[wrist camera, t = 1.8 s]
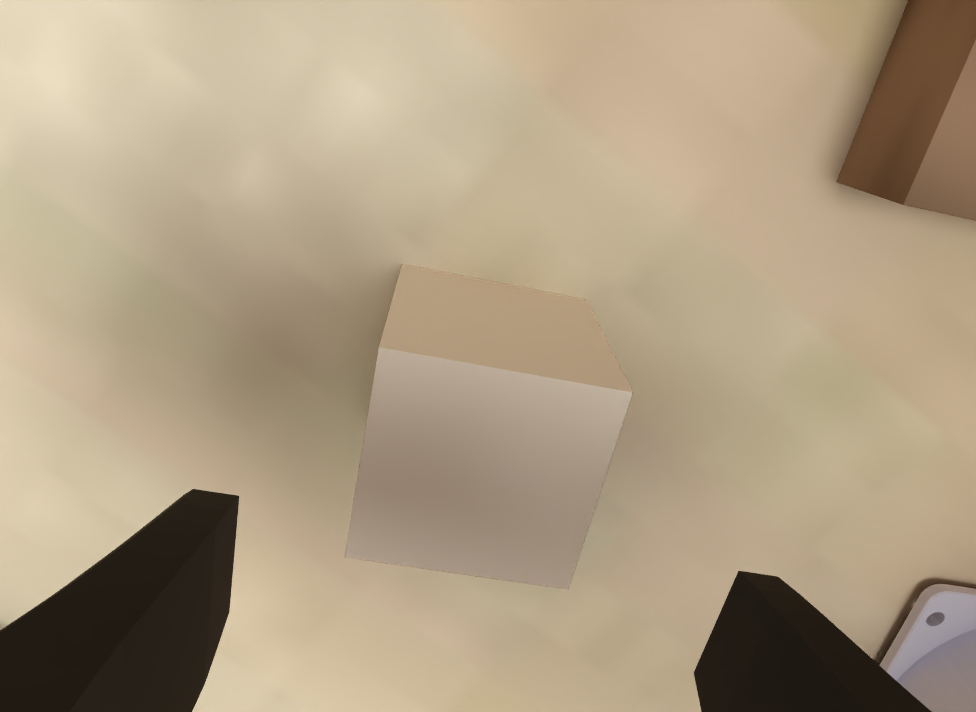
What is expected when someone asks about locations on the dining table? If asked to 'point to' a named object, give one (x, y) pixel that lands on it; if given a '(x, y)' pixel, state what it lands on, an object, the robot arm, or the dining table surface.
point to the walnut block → (922, 114)
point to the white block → (485, 430)
